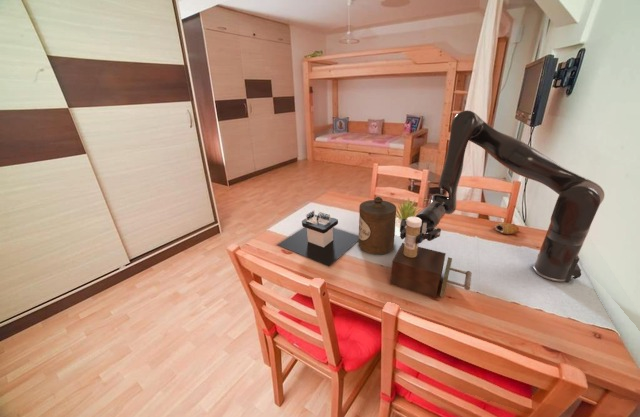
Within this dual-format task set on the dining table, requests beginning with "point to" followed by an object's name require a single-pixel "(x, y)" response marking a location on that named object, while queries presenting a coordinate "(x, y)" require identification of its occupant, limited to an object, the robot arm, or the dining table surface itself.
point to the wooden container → (377, 226)
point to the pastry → (506, 228)
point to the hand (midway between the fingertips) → (409, 238)
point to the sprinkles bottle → (412, 236)
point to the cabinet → (418, 271)
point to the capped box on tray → (320, 239)
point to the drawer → (445, 281)
